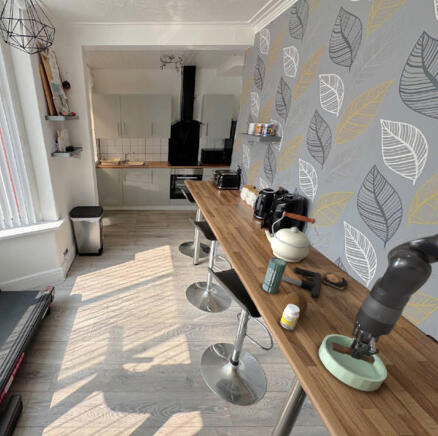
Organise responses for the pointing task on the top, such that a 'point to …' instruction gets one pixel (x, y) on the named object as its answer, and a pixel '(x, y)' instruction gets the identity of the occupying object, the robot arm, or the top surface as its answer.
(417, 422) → the top surface
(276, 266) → the can
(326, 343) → the bowl
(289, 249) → the kettle
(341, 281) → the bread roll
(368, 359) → the brown bar
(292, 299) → the potato
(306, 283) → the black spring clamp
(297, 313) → the supplement bottle
